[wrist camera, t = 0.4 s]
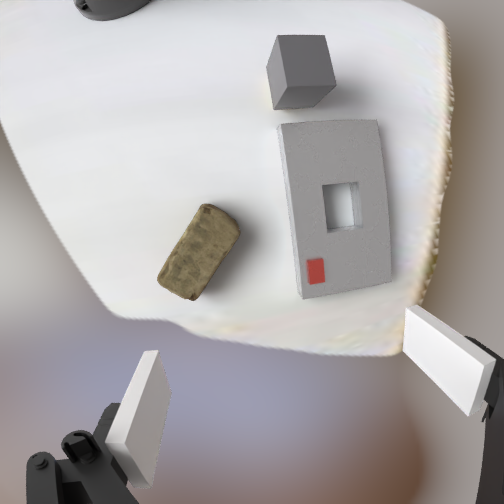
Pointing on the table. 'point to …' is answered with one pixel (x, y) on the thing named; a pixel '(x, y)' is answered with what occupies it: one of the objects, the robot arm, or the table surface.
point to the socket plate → (313, 210)
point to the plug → (299, 71)
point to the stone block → (199, 252)
